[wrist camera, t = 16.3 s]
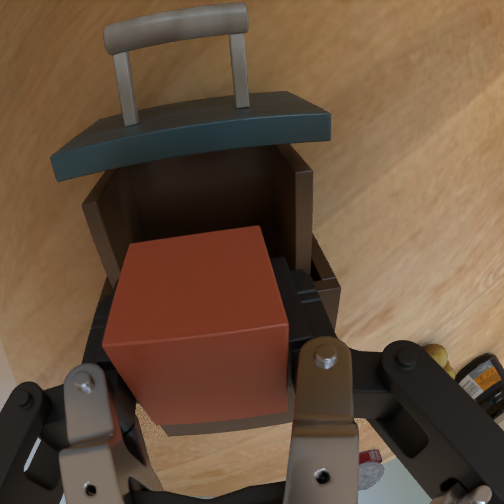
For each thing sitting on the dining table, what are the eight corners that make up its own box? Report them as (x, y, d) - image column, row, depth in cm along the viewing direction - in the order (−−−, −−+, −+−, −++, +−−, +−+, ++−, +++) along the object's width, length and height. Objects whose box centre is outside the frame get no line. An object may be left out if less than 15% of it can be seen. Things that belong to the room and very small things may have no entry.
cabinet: (123, 228, 22) (92, 320, 15) (297, 204, 23) (341, 287, 16) (169, 354, 31) (168, 436, 23) (295, 337, 31) (318, 417, 24)
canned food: (337, 450, 69) (328, 483, 61) (358, 438, 63) (350, 474, 55) (372, 462, 68) (365, 494, 60) (395, 450, 62) (389, 485, 54)
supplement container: (450, 372, 44) (479, 428, 35) (497, 342, 43) (529, 392, 33) (448, 393, 50) (472, 441, 41) (490, 366, 49) (516, 411, 39)
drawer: (86, 44, 14) (26, 44, 8) (282, 13, 15) (326, -7, 9) (147, 290, 24) (136, 366, 19) (292, 271, 25) (318, 342, 19)
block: (161, 331, 12) (155, 426, 9) (129, 242, 10) (100, 345, 6) (266, 317, 13) (288, 412, 9) (259, 224, 10) (289, 324, 7)
